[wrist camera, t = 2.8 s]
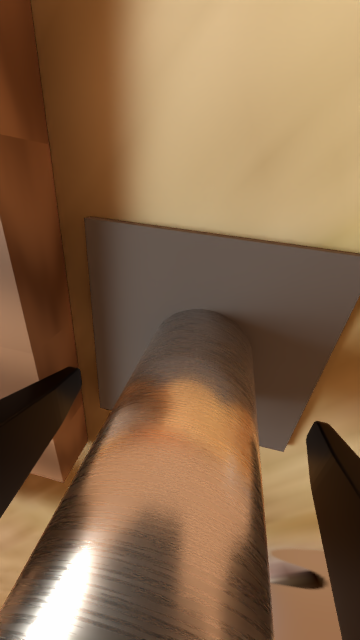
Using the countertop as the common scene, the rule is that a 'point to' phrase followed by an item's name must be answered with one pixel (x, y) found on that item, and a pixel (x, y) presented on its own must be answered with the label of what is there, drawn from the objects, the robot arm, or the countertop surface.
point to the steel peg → (161, 507)
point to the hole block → (32, 242)
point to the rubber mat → (221, 306)
